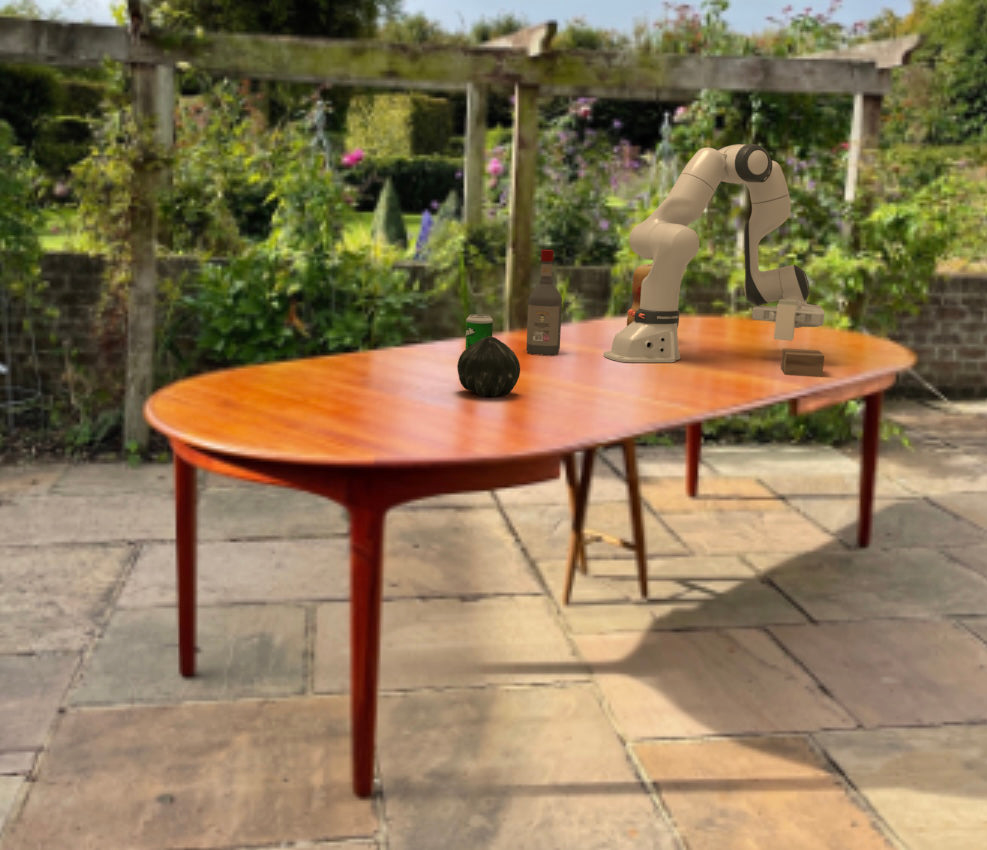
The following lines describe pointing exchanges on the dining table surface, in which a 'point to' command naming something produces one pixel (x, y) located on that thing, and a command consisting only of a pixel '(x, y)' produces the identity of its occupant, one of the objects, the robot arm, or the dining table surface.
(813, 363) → the walnut block
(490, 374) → the squash
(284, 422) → the dining table surface
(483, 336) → the soda can
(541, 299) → the liquor
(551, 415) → the dining table surface
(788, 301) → the tall cream box
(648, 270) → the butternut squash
